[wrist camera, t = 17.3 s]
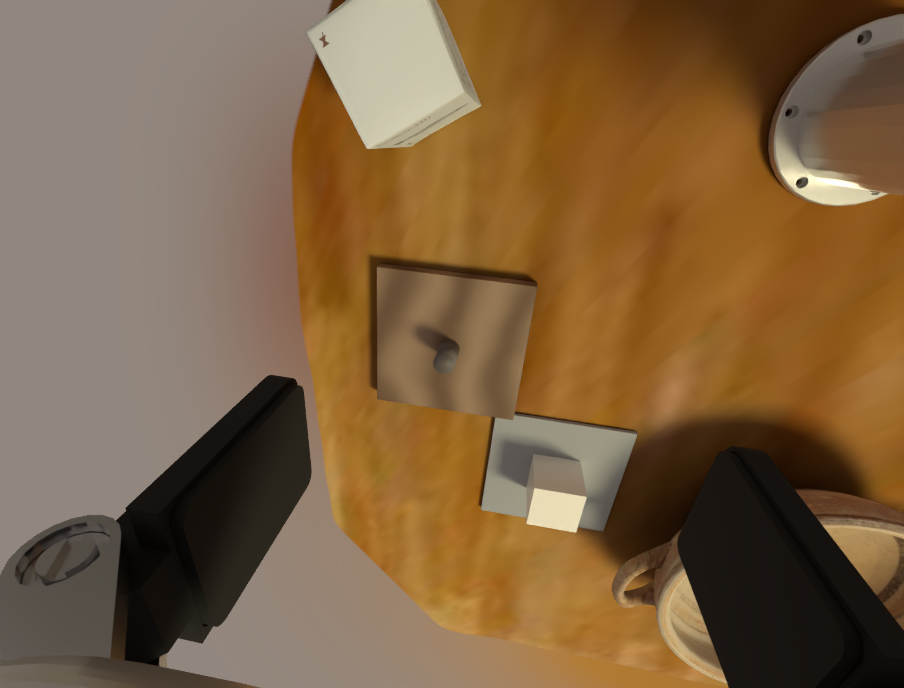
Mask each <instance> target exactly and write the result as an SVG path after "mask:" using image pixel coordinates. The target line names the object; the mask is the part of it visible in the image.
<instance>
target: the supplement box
mask: <svg viewBox="0 0 904 688" xmlns="http://www.w3.org/2000/svg"><path fill="white" fill-rule="evenodd" d="M306 35H307V36H308V38H309V40H310V42H311V44H312V45H313V47H314V49H315V51H316V53H317V55H318V57H319V59H320V61H321V62H322V64H323V66H324V68H325V70H326V72H327V74H328V76H329V77H330V79H331V81H332V83H333V85H334V87H335V89H336V90H337V92H338V94H339V96H340V98H341V100H342V102H343V104H344V106H345V108H346V110H347V112H348V114H349V116H350V118H351V119H352V121H353V123H354V125H355V127H356V129H357V131H358V133H359V135H360V137H361V139H362V141H363V143H364V145H365V146H366V148H367V149H376V148H394V147H411V146H413V145H414V144H416V143H417V142H419V141H420V140H422V139H424V138H425V137H427V136H428V135H430V134H432V133H434V132H435V131H437V130H439V129H441V128H442V127H444V126H446V125H448V124H450V123H451V122H453V121H455V120H457V119H458V118H460V117H462V116H464V115H466V114H467V113H469V112H471V111H473V110H475V109H477V108H479V107H481V103H480V101H479V99H478V96H477V94H476V91H475V89H474V86H473V84H472V81H471V79H470V76H469V74H468V71H467V69H466V66H465V64H464V62H463V59H462V57H461V54H460V52H459V49H458V47H457V44H456V42H455V40H454V37H453V35H452V33H451V30H450V28H449V25H448V23H447V21H446V18H445V16H444V14H443V12H442V11H441V9H440V7H439V5H438V3H437V1H436V0H347V1H345V2H344V3H343V4H342V5H340V6H339V7H337V8H336V9H335V10H334V11H332V12H331V13H329V14H328V15H327V16H325V17H324V18H323V19H322V20H320V21H319V22H317V23H316V24H315V25H313V26H312V27H310V28H309V29H308V30H306Z"/></svg>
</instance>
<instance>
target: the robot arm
mask: <svg viewBox="0 0 904 688" xmlns="http://www.w3.org/2000/svg"><path fill="white" fill-rule="evenodd" d="M858 37H859V41H858V43H857V38H858ZM787 109H788V110H789V113H788V115H787V116H786V115H785V114H786V111H787ZM768 152H769V158H770V164H771V166H772V169H773V171H774V173H775V176H776V178H777V179H778V180H779V182H780V183H781V184H782V185H783V187H784V188H785V189H787V190H788V191H789V192H791V193H792V194H793V195H794V196H796V197H799V198H801V199H803V200H805V201H808V202H812V203H816V204H820V205H829V206H846V205H855V204H860V203H864V202H868V201H872V200H874V199H877V198H879V197H882V196H885V195H887V194H896V195H903V196H904V14H898V15H894V16H890V17H886V18H881V19H878V20H875V21H872V22H869V23H866V24H864V25H861V26H859V27H857V28H855V29H853V30H851V31H849V32H847V33H845V34H843V35H841V36H839V37H838V38H836V39H835V40H834V41H832V42H831V43H829V44H828V45H827V46H825V47H824V48H822V49H821V50H820V51H819V52H818V53H817V54H816V55H815V56H814V57H812V58H811V59H810V60H809V61H808V62H807V63H806V64H805V65H804V66H803V67H802V69H801V70H800V71H799V72H798V74H797V75H796V76H795V77H794V78H793V80H792V81H791V82H790V84H789V86H788V87H787V89H786V91H785V92H784V94H783V95H782V97H781V99H780V101H779V103H778V106H777V108H776V111H775V113H774V115H773V119H772V123H771V127H770V131H769V143H768ZM798 179H799V181H798V183H797V184H796V181H797V180H798ZM310 479H311V460H310V450H309V441H308V430H307V420H306V409H305V399H304V391H303V388H302V386H298V385H297V382H296V380H295V379H293V378H287V377H281V376H274V375H269V376H267V377H266V378H265V379H264V380H262V381H261V382H260V383H259V384H258V385H257V386H256V387H255V388H254V389H253V390H252V391H251V392H250V393H248V394H247V395H246V396H245V397H244V398H243V399H242V400H241V401H240V402H239V403H238V404H237V405H236V406H234V407H233V408H232V409H231V410H230V411H229V412H228V413H227V414H226V415H225V416H224V417H223V418H222V419H221V420H219V421H218V422H217V423H216V424H215V425H214V426H213V427H212V428H211V429H210V430H209V431H208V432H207V433H206V434H204V435H203V436H202V437H201V438H200V439H199V440H198V441H197V442H196V443H195V444H194V445H193V446H192V447H190V448H189V449H188V450H187V451H186V452H185V453H184V454H183V455H182V456H181V457H180V458H179V459H178V460H177V461H175V462H174V463H173V464H172V465H171V466H170V467H169V468H168V469H167V470H166V471H165V472H164V473H163V474H162V475H160V477H158V478H157V479H156V480H155V481H154V482H153V483H152V484H151V485H150V486H149V487H148V488H146V490H144V491H143V492H142V493H141V494H140V495H139V496H138V497H137V498H136V499H135V500H134V501H133V502H131V503H130V504H129V505H128V506H127V507H126V512H125V513H124V514H123V515H121V516H120V517H119V518H118V519H117V520H116V521H115V520H114V519H113V518H111V517H107V516H104V515H87V516H82V517H77V518H72V519H69V520H67V521H64V522H61V523H59V524H56V525H54V526H52V527H50V528H48V529H46V530H44V531H43V532H41V533H39V534H38V535H36V536H34V537H33V538H32V539H30V540H29V541H28V542H26V543H25V544H24V545H22V546H21V547H20V548H19V549H18V550H17V551H16V552H15V553H14V554H13V555H12V556H11V557H10V559H9V560H8V561H7V563H6V565H5V567H4V569H3V570H2V572H1V575H0V688H259V687H254V686H250V685H246V684H242V683H237V682H233V681H227V680H223V679H218V678H213V677H208V676H203V675H199V674H194V673H188V672H184V671H179V670H174V669H169V668H167V653H168V652H169V650H170V649H171V648H172V646H173V645H174V643H175V642H176V640H177V639H178V638H180V639H184V640H189V641H194V642H198V643H203V642H204V640H205V639H206V637H207V635H208V634H209V632H210V631H211V629H212V627H213V626H215V627H218V626H219V625H221V624H222V623H223V622H224V620H225V619H226V618H227V616H228V615H229V613H230V611H231V610H232V608H233V607H234V605H235V603H236V602H237V600H238V598H239V597H240V595H241V593H242V592H243V590H244V589H245V587H246V585H247V584H248V582H249V581H250V579H251V577H252V576H253V574H254V573H255V571H256V569H257V567H258V566H259V564H260V562H261V561H262V560H263V558H264V556H265V555H266V553H267V551H268V550H269V548H270V547H271V545H272V543H273V542H274V540H275V538H276V537H277V535H278V534H279V532H280V530H281V529H282V527H283V525H284V524H285V522H286V521H287V519H288V517H289V516H290V514H291V513H292V511H293V509H294V508H295V506H296V504H297V503H298V501H299V500H300V498H301V496H302V495H303V493H304V492H305V490H306V488H307V486H308V485H309V482H310ZM677 547H678V553H679V556H680V559H681V561H682V564H683V567H684V569H685V572H686V575H687V577H688V580H689V583H690V585H691V588H692V591H693V593H694V596H695V599H696V601H697V604H698V607H699V609H700V612H701V615H702V617H703V620H704V623H705V625H706V628H707V631H708V633H709V636H710V639H711V641H712V644H713V647H714V649H715V652H716V655H717V657H718V660H719V663H720V665H721V668H722V671H723V673H724V676H725V679H726V681H727V684H728V687H729V688H904V630H903V629H902V627H901V626H900V625H899V624H898V622H897V621H896V620H895V618H894V617H893V616H892V615H891V613H890V612H889V611H888V609H887V608H886V607H885V605H884V604H883V603H882V602H881V600H880V599H879V598H878V596H877V595H876V594H875V593H874V591H873V590H872V589H871V587H870V586H869V585H868V584H867V582H866V581H865V580H864V578H863V577H862V576H861V574H860V573H859V572H858V571H857V569H856V568H855V567H854V565H853V564H852V563H851V562H850V560H849V559H848V558H847V556H846V555H845V554H844V552H843V551H842V550H841V549H840V547H839V546H838V545H837V543H836V542H835V541H834V540H833V538H832V537H831V536H830V534H829V533H828V532H827V531H826V529H825V528H824V527H823V525H822V524H821V523H820V521H819V520H818V519H817V518H816V516H815V515H814V514H813V512H812V511H811V510H810V509H809V507H808V506H807V505H806V503H805V502H804V501H803V499H802V498H801V497H800V496H799V494H798V493H797V492H796V490H795V489H794V488H793V487H792V485H791V484H790V483H789V481H788V480H787V479H786V478H785V476H784V475H783V474H782V472H781V471H780V470H779V468H778V467H777V466H776V465H775V463H774V462H773V461H772V459H771V458H770V457H769V456H768V455H767V454H766V453H765V452H764V451H761V450H755V449H748V448H742V447H735V446H733V447H730V448H728V449H727V450H726V452H720V453H719V454H718V455H717V456H716V458H715V461H714V463H713V465H712V467H711V469H710V471H709V473H708V475H707V477H706V479H705V481H704V484H703V486H702V488H701V490H700V492H699V494H698V496H697V498H696V500H695V502H694V504H693V507H692V509H691V511H690V513H689V515H688V517H687V519H686V521H685V523H684V525H683V527H682V530H681V532H680V534H679V536H678V541H677Z"/></svg>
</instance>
